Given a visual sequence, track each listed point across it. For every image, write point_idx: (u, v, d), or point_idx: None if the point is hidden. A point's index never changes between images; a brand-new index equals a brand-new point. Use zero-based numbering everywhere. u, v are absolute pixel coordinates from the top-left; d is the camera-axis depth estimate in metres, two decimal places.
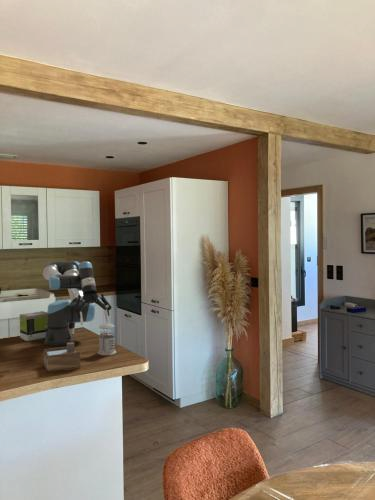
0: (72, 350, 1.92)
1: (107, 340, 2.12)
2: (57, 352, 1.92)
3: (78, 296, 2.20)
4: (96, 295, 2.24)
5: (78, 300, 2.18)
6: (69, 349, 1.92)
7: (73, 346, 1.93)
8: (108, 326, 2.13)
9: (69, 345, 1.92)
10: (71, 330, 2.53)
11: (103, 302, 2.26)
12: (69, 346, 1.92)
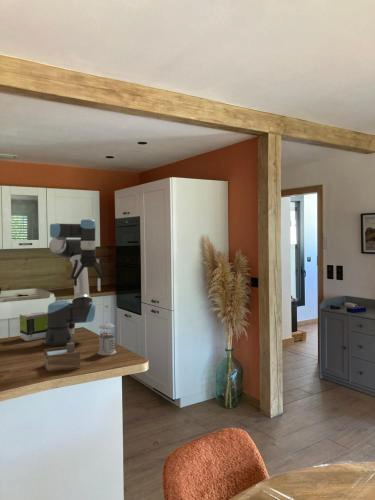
0: (72, 350, 1.92)
1: (107, 340, 2.12)
2: (57, 352, 1.92)
3: (75, 261, 2.10)
4: (94, 260, 2.15)
5: (75, 266, 2.10)
6: (69, 349, 1.92)
7: (73, 346, 1.93)
8: (108, 326, 2.13)
9: (69, 345, 1.92)
10: (71, 330, 2.53)
11: (99, 267, 2.18)
12: (69, 346, 1.92)
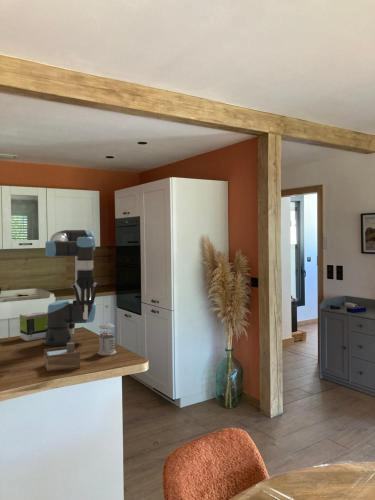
0: (72, 350, 1.92)
1: (107, 340, 2.12)
2: (57, 352, 1.92)
3: (73, 287, 1.92)
4: (92, 281, 1.96)
5: (76, 291, 1.93)
6: (69, 349, 1.92)
7: (73, 346, 1.93)
8: (108, 326, 2.13)
9: (69, 345, 1.92)
10: (71, 330, 2.53)
11: (92, 291, 1.98)
12: (69, 346, 1.92)
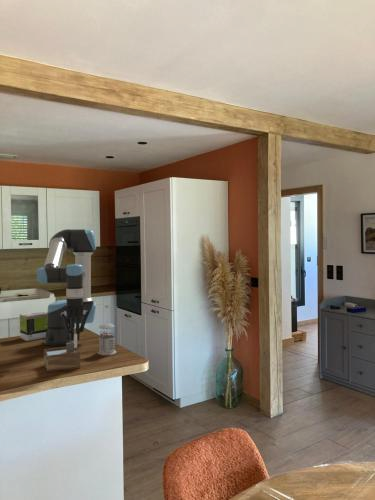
0: (72, 350, 1.92)
1: (107, 340, 2.12)
2: (57, 352, 1.92)
3: (62, 316, 1.90)
4: (81, 309, 1.94)
5: (65, 320, 1.91)
6: (69, 349, 1.92)
7: (73, 346, 1.92)
8: (108, 326, 2.13)
9: (69, 345, 1.92)
10: None
11: (82, 319, 1.97)
12: (69, 346, 1.92)
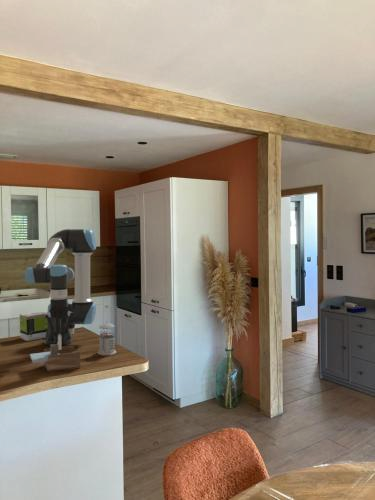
0: (56, 352, 1.89)
1: (107, 340, 2.12)
2: (40, 354, 1.88)
3: (46, 317, 1.87)
4: (66, 310, 1.91)
5: (49, 321, 1.87)
6: (53, 351, 1.88)
7: (57, 348, 1.89)
8: (108, 326, 2.13)
9: (53, 347, 1.88)
10: (71, 330, 2.53)
11: (66, 320, 1.93)
12: (53, 348, 1.88)
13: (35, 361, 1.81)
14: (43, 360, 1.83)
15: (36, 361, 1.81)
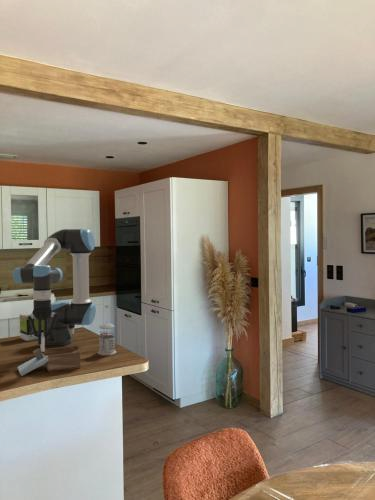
0: (41, 356, 1.86)
1: (107, 340, 2.12)
2: (27, 363, 1.86)
3: (29, 318, 1.83)
4: (49, 311, 1.88)
5: (32, 322, 1.84)
6: (37, 357, 1.85)
7: (40, 352, 1.85)
8: (108, 326, 2.13)
9: (35, 353, 1.84)
10: (71, 330, 2.53)
11: (50, 321, 1.90)
12: (36, 354, 1.84)
13: (22, 373, 1.79)
14: (30, 369, 1.80)
15: (24, 373, 1.79)
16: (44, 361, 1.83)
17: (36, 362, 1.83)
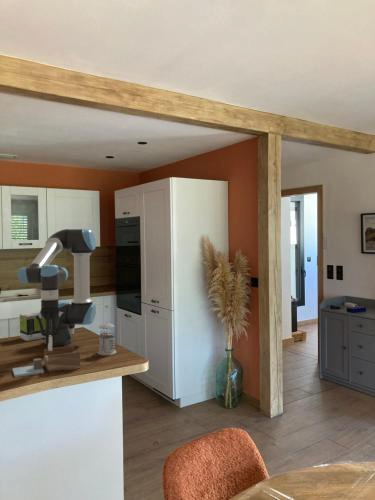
0: (39, 367, 1.85)
1: (107, 340, 2.12)
2: (23, 369, 1.85)
3: None
4: (57, 311, 1.89)
5: (39, 322, 1.86)
6: (36, 366, 1.85)
7: (40, 362, 1.85)
8: (108, 326, 2.13)
9: (36, 361, 1.85)
10: (71, 330, 2.53)
11: (57, 321, 1.91)
12: (36, 362, 1.85)
13: (16, 376, 1.78)
14: (25, 375, 1.79)
15: (18, 376, 1.78)
16: (41, 372, 1.82)
17: (33, 370, 1.83)
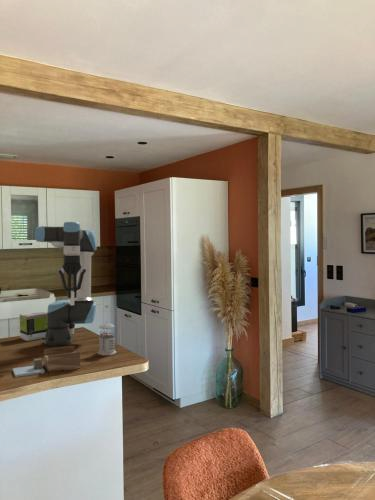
0: (39, 366, 1.85)
1: (107, 340, 2.12)
2: (23, 369, 1.85)
3: (59, 272, 1.90)
4: (79, 266, 1.94)
5: (62, 276, 1.91)
6: (36, 366, 1.85)
7: (40, 362, 1.85)
8: (108, 326, 2.13)
9: (36, 361, 1.85)
10: (71, 330, 2.53)
11: (79, 277, 1.96)
12: (36, 362, 1.85)
13: (17, 376, 1.78)
14: (26, 375, 1.79)
15: (18, 376, 1.78)
16: (41, 372, 1.82)
17: (33, 370, 1.83)
